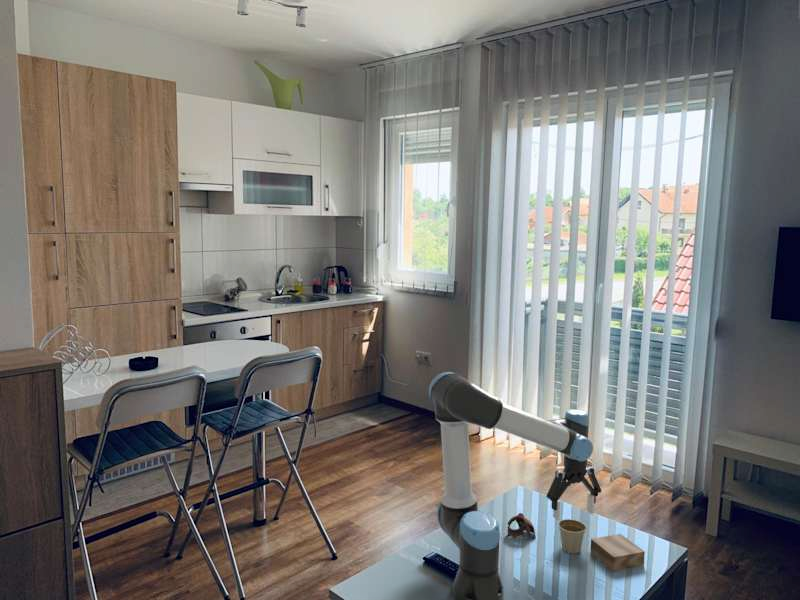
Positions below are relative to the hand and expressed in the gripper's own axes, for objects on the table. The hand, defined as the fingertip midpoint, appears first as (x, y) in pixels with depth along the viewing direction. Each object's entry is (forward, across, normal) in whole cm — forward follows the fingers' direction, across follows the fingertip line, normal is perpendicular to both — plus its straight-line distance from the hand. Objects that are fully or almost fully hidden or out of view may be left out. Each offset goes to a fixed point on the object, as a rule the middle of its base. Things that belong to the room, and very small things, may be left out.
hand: (573, 515), depth 204 cm
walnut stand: (+12, +10, -10) cm, 19 cm away
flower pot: (+12, 0, 0) cm, 12 cm away
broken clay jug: (+12, -12, +14) cm, 22 cm away
